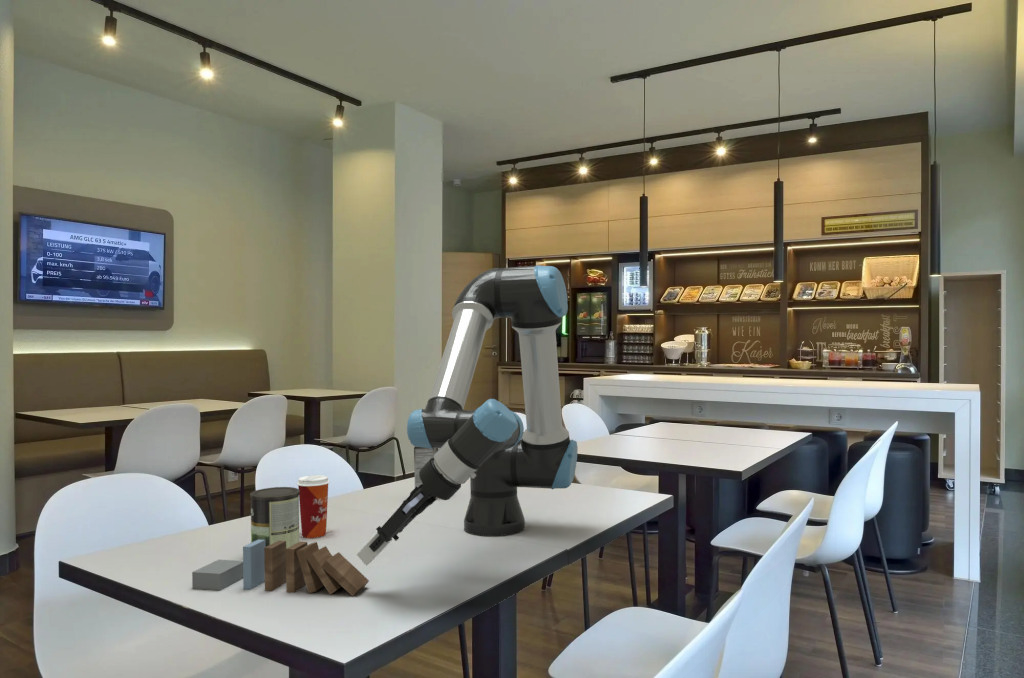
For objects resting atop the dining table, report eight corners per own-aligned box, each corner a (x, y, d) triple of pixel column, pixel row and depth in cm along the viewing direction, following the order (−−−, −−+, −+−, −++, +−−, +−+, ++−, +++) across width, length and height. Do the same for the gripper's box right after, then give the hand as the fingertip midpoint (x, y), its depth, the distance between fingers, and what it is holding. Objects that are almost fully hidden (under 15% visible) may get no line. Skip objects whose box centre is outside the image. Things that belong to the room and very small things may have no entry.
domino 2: (286, 582, 136) (286, 540, 136) (272, 591, 131) (271, 548, 131) (279, 581, 136) (278, 540, 136) (264, 590, 131) (264, 547, 131)
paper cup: (321, 540, 165) (320, 480, 165) (291, 538, 167) (290, 480, 167) (336, 531, 173) (335, 474, 173) (307, 530, 174) (306, 474, 175)
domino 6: (369, 580, 132) (338, 552, 133) (357, 589, 127) (326, 560, 128) (364, 587, 132) (333, 558, 133) (352, 596, 127) (321, 566, 128)
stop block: (245, 576, 139) (245, 561, 139) (220, 590, 131) (220, 573, 131) (218, 574, 140) (218, 559, 141) (192, 588, 133) (192, 572, 133)
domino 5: (348, 581, 133) (325, 545, 134) (336, 590, 128) (312, 553, 129) (342, 585, 133) (319, 550, 134) (330, 594, 128) (306, 558, 129)
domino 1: (265, 580, 136) (265, 539, 137) (251, 589, 132) (250, 547, 132) (258, 580, 137) (258, 539, 137) (243, 589, 132) (242, 546, 132)
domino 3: (307, 583, 135) (307, 541, 135) (294, 592, 130) (293, 549, 130) (300, 583, 135) (299, 541, 135) (286, 591, 130) (286, 548, 130)
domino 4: (328, 582, 134) (316, 541, 134) (316, 591, 129) (303, 549, 129) (321, 584, 134) (309, 543, 135) (308, 593, 129) (296, 551, 130)
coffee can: (244, 564, 148) (243, 497, 148) (258, 549, 158) (257, 487, 158) (294, 561, 149) (293, 495, 149) (304, 548, 159) (303, 486, 159)
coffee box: (418, 494, 215) (418, 442, 216) (439, 494, 215) (438, 442, 216) (414, 501, 206) (413, 446, 207) (435, 500, 206) (435, 446, 206)
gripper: (450, 493, 119) (361, 586, 122) (472, 479, 132) (390, 563, 135) (421, 461, 120) (333, 554, 124) (444, 450, 133) (364, 534, 136)
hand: (363, 559), depth 129 cm, fingers closed
